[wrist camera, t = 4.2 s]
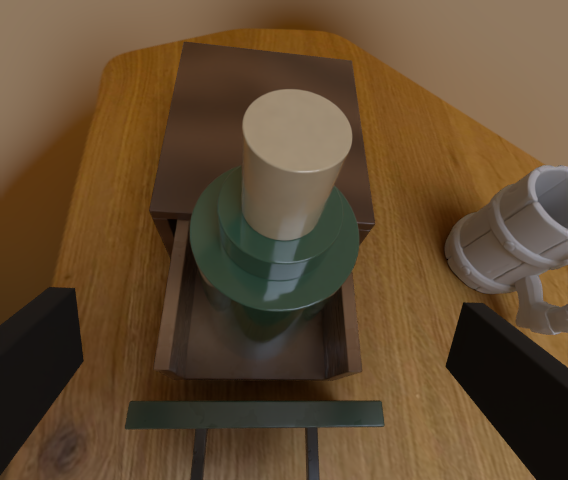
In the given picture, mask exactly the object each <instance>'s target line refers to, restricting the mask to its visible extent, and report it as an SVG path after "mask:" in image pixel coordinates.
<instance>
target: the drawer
mask: <svg viewBox="0 0 568 480" xmlns="http://www.w3.org/2000/svg"><path fill="white" fill-rule="evenodd" d="M189 228H190V220H178V219H177V224H176V230H175V237H174V243H173V249H172V255H171V262H170V268H169V274H168V280H167V287H166V293H165V299H164V305H163V312H162V318H161V324H160V330H159V336H158V343H157V349H156V355H155V361H154V368H153V369H154V370H155V371H157V372H159V373H161V374H164V375H166V376H168V377H170V378H172V379H174V380H301V381H333V380H337V379H340V378H343V377H347V376H350V375H353V374H357V373H360V372H362V364H361V354H360V344H359V334H358V324H357V314H356V304H355V294H354V284H353V275H352V272H351V274H350V275H349V277H348V278H347V280H346V281H345V282H344V284H343V285H342V286H341V287H340V288H339V290H338V291H337V292H336V293H335V294H334V296H333V297H332V298H331V299H330V300H329V301H328V303H327V304H326V305H325V306H324V307H323V309H322V310H321V311H320V312H319V313H318V315H317V316H316V317H315V318H314V319H313V320H312V322H311V323H310V324H309V325H308V326H307V328H306V329H305V330H304V331H303V332H302V334H301V335H300V336H299V337H298V338H297V339H296V341H295V342H294V343H293V344H292V345H291V346H290V347H289V348H288V349H287V350H286V351H285V352H283V353H281V354H280V355H278V356H275V357H273V358H270V359H265V360H251V359H246V358H242V357H240V356H238V355H236V354H234V353H232V352H231V351H230V350H229V349H227V348H226V347H225V346H224V345H223V344H222V342H221V341H220V339H219V338H218V336H217V334H216V331H215V329H214V325H213V322H212V319H211V315H210V312H209V308H208V305H207V301H206V298H205V294H204V291H203V288H202V284H201V281H200V277H199V274H198V270H197V267H196V263H195V260H194V257H193V253H192V249H191V244H190V235H189ZM320 427H384V417H383V409H382V402H381V401H130V403H129V407H128V413H127V418H126V424H125V429H195V439H194V449H193V459H192V469H191V479H190V480H203V477H204V466H205V454H206V442H207V431H208V429H220V428H305V443H306V480H319V456H318V432H317V428H320Z"/></svg>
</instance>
